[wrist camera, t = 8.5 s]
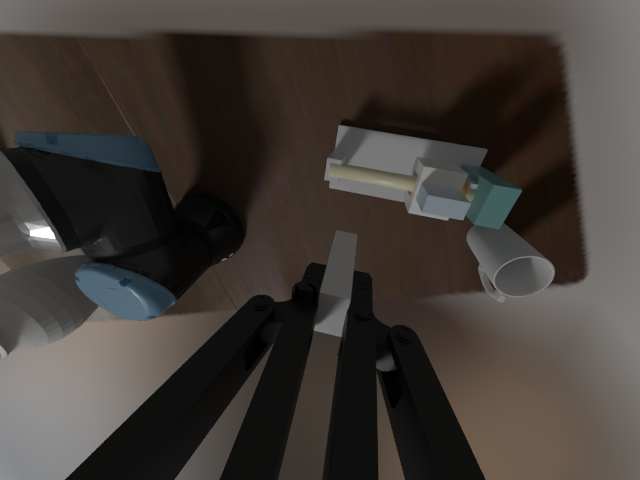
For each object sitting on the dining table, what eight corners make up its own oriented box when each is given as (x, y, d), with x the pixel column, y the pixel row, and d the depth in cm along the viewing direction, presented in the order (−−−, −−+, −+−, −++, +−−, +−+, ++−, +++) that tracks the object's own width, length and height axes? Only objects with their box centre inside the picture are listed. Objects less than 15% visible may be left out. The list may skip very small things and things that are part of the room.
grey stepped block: (403, 197, 36) (412, 227, 27) (416, 156, 33) (432, 175, 24) (436, 203, 36) (457, 236, 27) (453, 163, 33) (483, 185, 24)
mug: (473, 214, 40) (507, 251, 30) (516, 219, 39) (566, 260, 29) (452, 262, 45) (475, 309, 35) (490, 268, 44) (525, 317, 34)
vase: (62, 232, 63) (-98, 298, 41) (121, 242, 60) (-18, 318, 39) (91, 284, 72) (-29, 360, 50) (143, 295, 69) (40, 380, 48)
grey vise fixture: (330, 186, 43) (316, 211, 32) (339, 124, 38) (326, 132, 27) (459, 210, 40) (489, 246, 30) (488, 149, 35) (535, 167, 25)
